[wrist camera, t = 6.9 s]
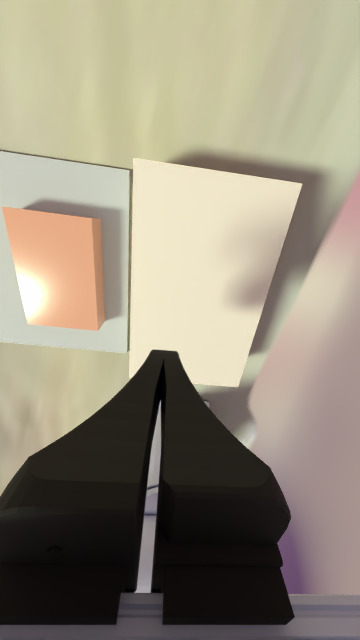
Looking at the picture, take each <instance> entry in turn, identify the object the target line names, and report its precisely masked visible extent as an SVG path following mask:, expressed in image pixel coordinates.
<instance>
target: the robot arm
mask: <svg viewBox="0 0 360 640" xmlns="http://www.w3.org/2000/svg"><path fill="white" fill-rule="evenodd" d="M290 519H291V515H290V510H289V507H288V505H287V502H286V500H285V497H284V495H283V493H282V491H281V488H280V486H279V484H278V482H277V480H276V478H275V476H274V474H273V473H272V471H271V469H270V467H269V466H268V465H266V464H265V463H264V462H263V461H262V460H260V459H259V458H258V457H257V456H256V455H255V454H253V453H252V452H251V451H250V450H249V449H247V448H246V447H245V446H244V445H243V444H242V443H241V442H240V441H239V440H238V439H237V438H236V437H234V436H233V435H232V434H231V432H230V431H229V430H228V429H227V428H226V427H225V426H224V425H223V424H222V423H221V422H220V421H219V420H218V418H217V417H216V416H215V415H214V414H213V413H212V411H211V410H210V409H209V403H208V402H207V401H203V400H202V398H201V397H200V395H199V394H198V392H197V391H196V389H195V387H194V386H193V384H192V382H191V381H190V379H189V377H188V375H187V373H186V371H185V369H184V367H183V365H182V363H181V360H180V357H179V354H178V352H177V351H168V350H155V349H153V350H151V351H150V353H149V355H148V357H147V359H146V360H145V362H144V363H143V364H142V366H141V367H140V368H139V370H138V371H137V372H136V374H135V375H134V376H133V377H132V378H131V379H130V381H129V382H128V383H127V384H126V385H125V386H124V387H123V388H122V389H121V390H120V391H119V392H118V393H117V394H116V395H115V396H114V397H113V398H112V399H111V400H110V401H109V402H108V403H107V404H105V405H104V406H103V407H102V408H101V409H100V410H98V411H97V412H96V413H95V414H93V415H92V416H91V417H90V418H88V419H87V420H85V421H84V422H83V423H81V424H80V425H79V426H77V427H76V428H74V429H73V430H72V431H70V432H69V433H67V434H66V435H64V436H63V437H61V438H60V439H58V440H56V441H55V442H53V443H52V444H50V445H48V446H47V447H45V448H43V449H42V450H40V451H39V452H37V453H35V454H33V455H32V456H30V457H28V459H27V460H26V461H25V463H24V464H23V465H22V467H21V468H20V469H19V470H18V472H17V473H16V474H15V476H14V477H13V478H12V480H11V481H10V482H9V484H8V485H7V487H6V489H5V490H4V492H3V493H2V495H1V496H0V640H360V595H319V594H318V595H317V594H314V595H312V594H288V593H287V589H286V586H285V583H284V579H283V576H282V573H281V569H280V567H281V566H283V562H282V557H281V554H280V551H279V548H278V545H277V542H278V541H279V539H280V538H281V536H282V535H283V533H284V532H285V530H286V529H287V527H288V524H289V522H290Z"/></svg>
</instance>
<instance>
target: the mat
mask: <svg viewBox="0 0 360 640" xmlns="http://www.w3.org/2000/svg"><path fill="white" fill-rule="evenodd" d="M2 207H12V208H22V209H30V210H38V211H45V212H53V213H61V214H68V215H76V216H83V217H91V218H99V219H101V228H102V253H103V279H104V304H105V322H104V323H103V325H102V326H101V328H100V329H99V330H98V331H94V330H84V329H73V328H63V327H53V326H42V325H32V324H27V319H26V315H25V310H24V306H23V301H22V297H21V292H20V287H19V283H18V278H17V274H16V269H15V265H14V260H13V256H12V251H11V247H10V242H9V238H8V233H7V229H6V224H5V220H4V215H3V211H2ZM129 212H130V171H129V170H124V169H117V168H110V167H104V166H97V165H90V164H84V163H77V162H70V161H63V160H57V159H50V158H43V157H36V156H30V155H23V154H16V153H10V152H3V151H0V342H6V343H17V344H28V345H39V346H51V347H62V348H73V349H84V350H95V351H106V352H117V353H127V352H128V285H129Z"/></svg>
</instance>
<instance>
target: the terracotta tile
mask: <svg viewBox="0 0 360 640" xmlns="http://www.w3.org/2000/svg"><path fill="white" fill-rule="evenodd" d="M2 211H3V215H4V220H5V224H6V229H7V233H8V238H9V242H10V247H11V251H12V256H13V260H14V265H15V269H16V274H17V278H18V283H19V287H20V292H21V297H22V301H23V306H24V310H25V315H26V319H27V324H32V325H42V326H53V327H63V328H73V329H84V330H94V331H98V330H99V329H100V328H101V326H102V325H103V323H104V322H105V304H104V279H103V253H102V228H101V219H99V218H91V217H83V216H76V215H68V214H61V213H53V212H45V211H38V210H30V209H22V208H12V207H2Z"/></svg>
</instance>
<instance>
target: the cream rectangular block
mask: <svg viewBox="0 0 360 640" xmlns="http://www.w3.org/2000/svg"><path fill="white" fill-rule="evenodd" d="M301 187H302V183H296V182H289V181H283V180H276V179H270V178H263V177H256V176H250V175H243V174H237V173H230V172H224V171H217V170H211V169H204V168H198V167H191V166H184V165H178V164H171V163H165V162H158V161H152V160H145V159H139V158H133V206H132V258H131V310H130V363H129V378H132V377H133V376H134V375H135V374H136V372H137V371H138V370H139V368H140V367H141V366H142V364H143V363H144V362H145V360H146V359H147V357H148V355H149V353H150V351H151V350H153V349H155V350H168V351H177V352H178V354H179V357H180V360H181V363H182V365H183V367H184V369H185V371H186V373H187V375H188V377H189V379H190V381H191V382H192V383H193V384H205V385H217V386H229V387H238V386H239V382H240V379H241V376H242V373H243V370H244V367H245V364H246V360H247V357H248V354H249V351H250V348H251V345H252V341H253V338H254V335H255V332H256V329H257V326H258V323H259V319H260V316H261V313H262V310H263V307H264V304H265V301H266V297H267V294H268V291H269V288H270V285H271V282H272V278H273V275H274V272H275V269H276V266H277V263H278V260H279V256H280V253H281V250H282V247H283V244H284V241H285V237H286V234H287V231H288V228H289V225H290V222H291V219H292V215H293V212H294V209H295V206H296V203H297V200H298V196H299V193H300V190H301Z"/></svg>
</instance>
